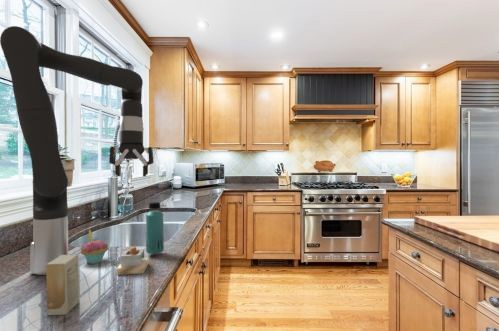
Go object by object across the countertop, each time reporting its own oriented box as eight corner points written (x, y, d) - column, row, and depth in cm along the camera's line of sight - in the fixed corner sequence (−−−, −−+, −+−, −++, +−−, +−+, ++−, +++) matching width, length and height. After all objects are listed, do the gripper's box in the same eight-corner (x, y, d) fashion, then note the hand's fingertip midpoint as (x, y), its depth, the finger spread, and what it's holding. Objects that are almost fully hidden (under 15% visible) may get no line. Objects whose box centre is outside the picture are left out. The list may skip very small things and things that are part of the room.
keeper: (116, 274, 88) (116, 252, 88) (123, 265, 96) (123, 244, 96) (143, 273, 89) (143, 251, 89) (147, 263, 97) (147, 243, 97)
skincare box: (61, 302, 71) (61, 254, 71) (79, 301, 71) (79, 253, 71) (45, 316, 65) (45, 263, 64) (65, 315, 65) (65, 263, 65)
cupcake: (93, 267, 94) (92, 231, 94) (74, 263, 97) (74, 229, 97) (113, 258, 102) (113, 225, 102) (96, 255, 105) (95, 223, 105)
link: (120, 267, 89) (120, 256, 89) (125, 260, 95) (125, 250, 95) (140, 265, 90) (140, 255, 90) (144, 259, 96) (144, 249, 96)
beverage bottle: (158, 258, 102) (158, 203, 102) (141, 257, 104) (141, 203, 103) (167, 252, 109) (167, 201, 108) (151, 251, 110) (151, 200, 110)
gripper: (106, 128, 94) (106, 177, 94) (151, 129, 97) (151, 176, 97) (113, 130, 101) (113, 175, 102) (154, 131, 104) (154, 175, 104)
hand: (131, 176), depth 99 cm, fingers open, 8 cm apart
